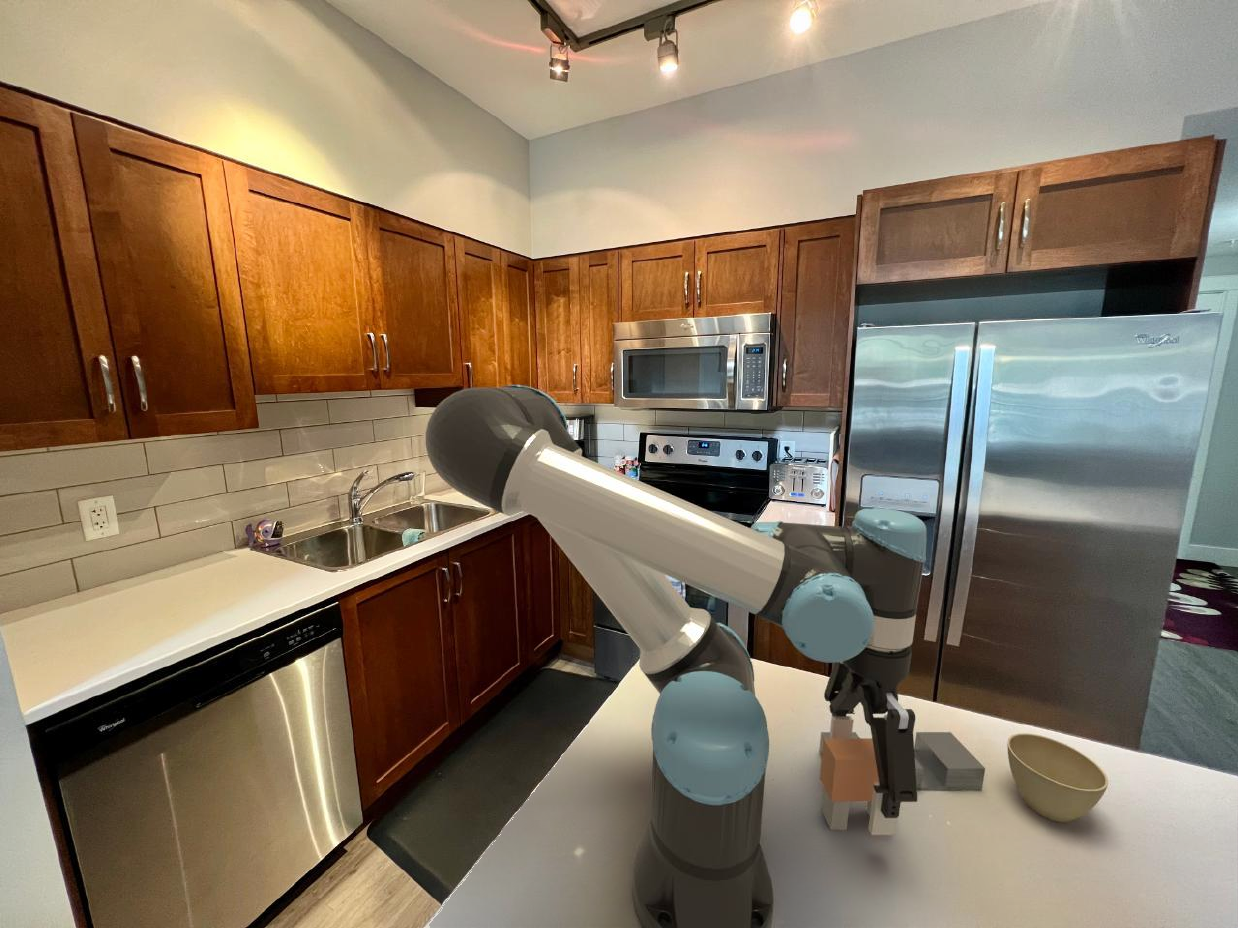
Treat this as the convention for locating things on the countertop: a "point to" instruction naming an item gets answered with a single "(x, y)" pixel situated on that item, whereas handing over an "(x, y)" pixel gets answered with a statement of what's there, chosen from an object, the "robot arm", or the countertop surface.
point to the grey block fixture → (941, 762)
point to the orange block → (846, 777)
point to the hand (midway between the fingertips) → (857, 792)
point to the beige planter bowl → (1054, 777)
